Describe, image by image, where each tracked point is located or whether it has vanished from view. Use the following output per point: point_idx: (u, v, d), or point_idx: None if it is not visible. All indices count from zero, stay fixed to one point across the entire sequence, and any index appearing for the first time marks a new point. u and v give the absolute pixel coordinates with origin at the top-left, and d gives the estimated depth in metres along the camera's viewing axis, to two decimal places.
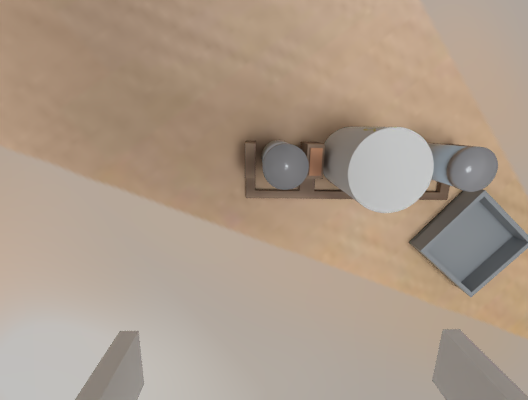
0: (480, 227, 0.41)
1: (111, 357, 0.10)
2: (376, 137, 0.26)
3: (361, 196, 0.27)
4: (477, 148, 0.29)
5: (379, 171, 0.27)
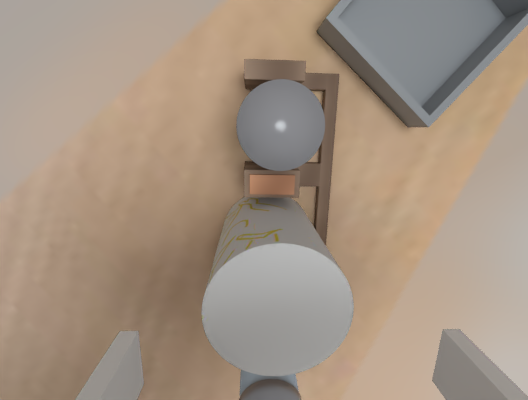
0: None
1: (112, 357, 0.10)
2: (220, 342, 0.16)
3: (320, 353, 0.16)
4: (239, 130, 0.15)
5: (278, 331, 0.16)
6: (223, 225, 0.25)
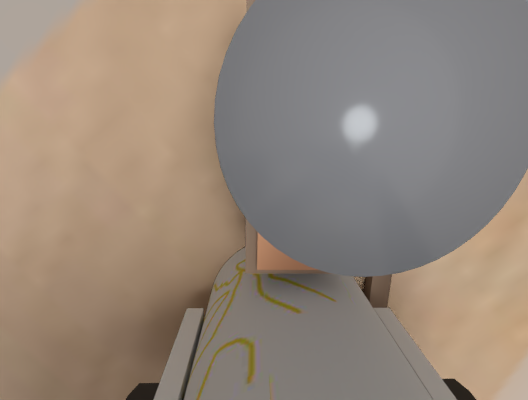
0: None
1: (187, 328, 0.12)
2: None
3: None
4: (225, 140, 0.04)
5: None
6: (209, 300, 0.14)
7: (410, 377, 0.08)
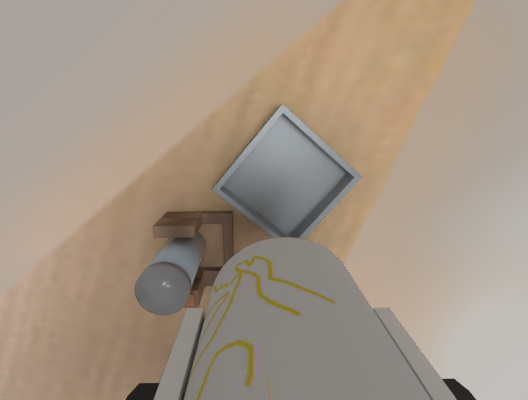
0: (268, 162, 0.32)
1: (187, 328, 0.12)
2: None
3: None
4: (136, 294, 0.25)
5: None
6: (209, 301, 0.14)
7: (410, 379, 0.08)
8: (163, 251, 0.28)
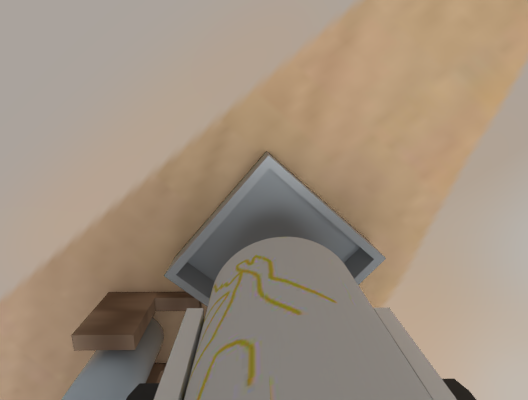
0: (249, 229, 0.22)
1: (187, 328, 0.12)
2: None
3: None
4: None
5: None
6: (209, 301, 0.14)
7: (411, 379, 0.08)
8: (84, 377, 0.18)
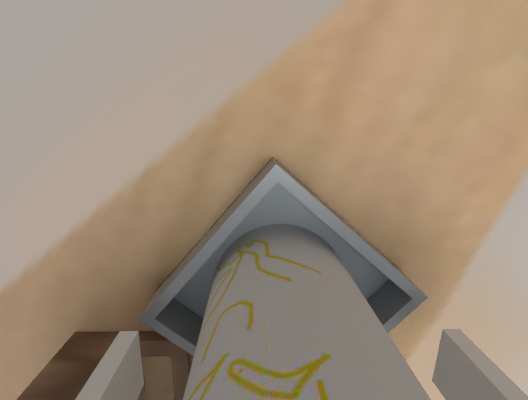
0: None
1: (111, 357, 0.10)
2: None
3: None
4: None
5: None
6: (213, 280, 0.16)
7: (378, 328, 0.10)
8: None
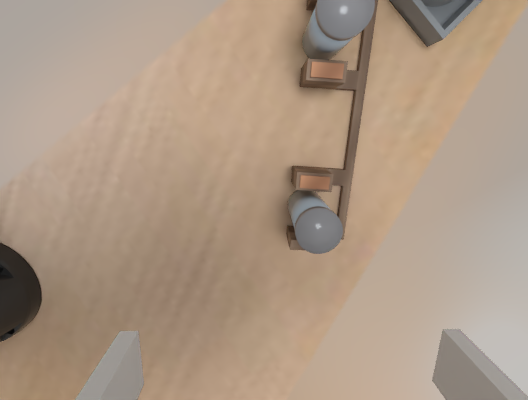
0: None
1: (111, 357, 0.10)
2: None
3: None
4: (319, 6, 0.23)
5: None
6: None
7: None
8: None
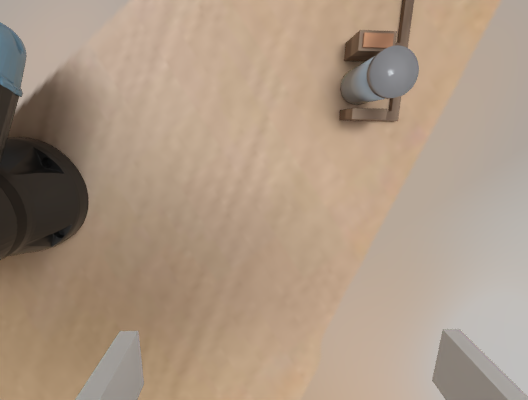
0: None
1: (112, 357, 0.10)
2: None
3: None
4: None
5: None
6: None
7: None
8: None
